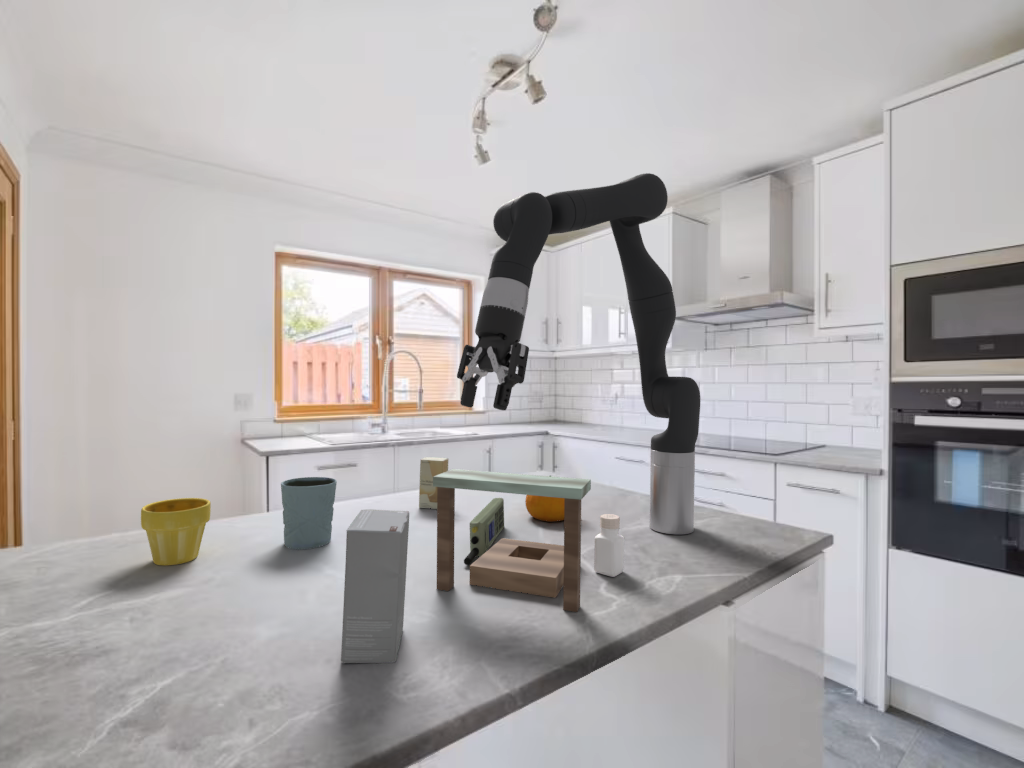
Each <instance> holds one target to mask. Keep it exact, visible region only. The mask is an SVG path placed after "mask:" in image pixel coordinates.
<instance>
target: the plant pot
mask: <svg viewBox="0 0 1024 768" xmlns="http://www.w3.org/2000/svg"><path fill="white" fill-rule="evenodd" d="M211 507H212V505H211V501H210V500H209V499H207V498H200V497H182V498H172V499H164V500H160V501H155V502H151V503H148V504H145V505H144V506H142V507H141V510H140V526H141V529H142V530H144V531H145V534H146V537H147V541H148V545H149V548H150V552H151V557H152V558H151V559H152V561H153V562H152V563H153V564H155V565H156V566H177V565H181V564H186V563H189V562H192V561H193V560H195V559H197V557H198V556H199V552H200V547H201V545H202V539H203V536H204V533H205V528H206V525H207V524H206V523H208V522H210V519H211V512H212V511H211V510H212V509H211Z"/></svg>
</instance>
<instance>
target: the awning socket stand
mask: <svg viewBox="0 0 1024 768" xmlns="http://www.w3.org/2000/svg"><path fill="white" fill-rule="evenodd" d="M591 484H592V480H591V478H590V479H589V478H576V477H575V478H574V477H560V476H552V475H536V474H535V475H534V474H523V473H522V474H521V473H510V472H498V471H497V472H496V471H486V470H485V471H484V470H471V469H469V470H468V469H458V468H452V469H450V470H449V469H448V471H447V472H444V473H441V474H439V475H436V476H433V486H434V487H437V509H436V511H437V512H436V516H437V517H436V590H437V589H439V590H438V591H443V590H445V592H449V591H451V590H452V589H453V588H454V587H455V516H456V515H455V514H456V513H455V512H456V511H455V509H456V508H455V506H456V505H455V504H456V503H455V501H456V498H455V497H456V493H455V492H456V489H459V490H470V491H480V492H491V493H492V492H493V493H503V494H515V495H524V496H525V495H535V496H546V497H557V498H565V503H564V520H563V523H564V524H563V525H564V526H563V545H561V544H554V543H546V542H536V541H528V540H520V539H512V538H503V537H502V538H500V539H499V540H498V541H497V542H496V543H495V544H493V545H491V546H490V547H489V548H488V550H487V551H486V552H485V553H484V554H483V555H482V556H481V557H477V559H476V560H475V561H474V562H473V561H472V562H471V564H470V565H469V586H470V585H472V586H476V585H477V587H482V586H483V588H489V587H492V588H491V589H495V588H496V590H504V591H508V590H509V592H516V593H521V592H522V594H527V593H528V595H535V596H541V597H549V598H557V596H558V595H559V594H560V592H561V590H562V588H563V592H562V593H563V594H562V595H563V601H562V603H563V604H562V606H563V607H562V608H563V609H562V610H563V611H568V612H573V613H578V612H579V609H580V607H581V567H582V566H581V560H582V558H581V557H582V554H581V553H582V551H581V550H582V500H583V499H584V498H585V496H586V495H587V494H588V493H589V492H590V491H591V490H592V489H591V487H592V485H591ZM484 586H485V587H484ZM452 587H453V588H452Z"/></svg>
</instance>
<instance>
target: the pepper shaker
mask: <svg viewBox="0 0 1024 768" xmlns="http://www.w3.org/2000/svg"><path fill="white" fill-rule="evenodd" d="M599 521H600V522H599V523H600V524H599V527H600V533H598V534H596V535H595V536H594V559H593V560H594V561H593V562H594V564H593V565H594V566H593V567H594V568H593V569H594V572H595V573H597V574H601V575H604V576H608V577H611V578H615V577H616V576H618V575H620V574H622V573H623V572H624V570H625V537H624V536H623V535H622V534H620V523H621V521H620V516H619V515H618V514H617V515H616V514H612V513H605V514H604V513H603V514H601V515H600V517H599Z"/></svg>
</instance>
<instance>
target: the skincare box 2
mask: <svg viewBox="0 0 1024 768" xmlns="http://www.w3.org/2000/svg"><path fill="white" fill-rule="evenodd" d="M447 471H449V458H448V457H447V458H446V457H432V456H426V457H423V458H421V459H420V465H419V491H418V493H419V494H418V495H419V496H418V508H419V509H430V508H431V509H432V510H437V487H434V486H433V476H436V475H439V474H441V473H444V472H447Z"/></svg>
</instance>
